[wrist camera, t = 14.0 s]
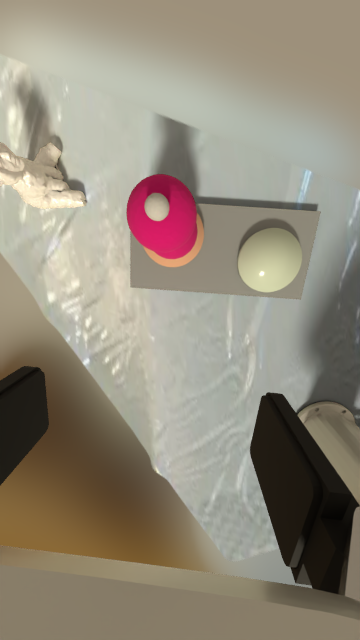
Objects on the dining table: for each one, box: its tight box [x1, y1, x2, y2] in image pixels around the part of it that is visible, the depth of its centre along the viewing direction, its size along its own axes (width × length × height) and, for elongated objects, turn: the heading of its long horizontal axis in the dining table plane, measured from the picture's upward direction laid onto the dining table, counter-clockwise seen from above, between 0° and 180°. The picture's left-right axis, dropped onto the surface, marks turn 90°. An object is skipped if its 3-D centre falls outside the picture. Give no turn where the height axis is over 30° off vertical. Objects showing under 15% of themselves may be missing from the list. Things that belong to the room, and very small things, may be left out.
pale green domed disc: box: [237, 228, 302, 292], centre depth 35 cm, size 10×10×2 cm
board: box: [131, 203, 321, 299], centre depth 36 cm, size 30×14×1 cm, turn 86°
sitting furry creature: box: [0, 142, 86, 209], centre depth 29 cm, size 10×9×12 cm
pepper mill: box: [127, 174, 198, 259], centre depth 24 cm, size 7×7×20 cm
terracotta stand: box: [143, 213, 204, 267], centre depth 34 cm, size 10×10×2 cm
